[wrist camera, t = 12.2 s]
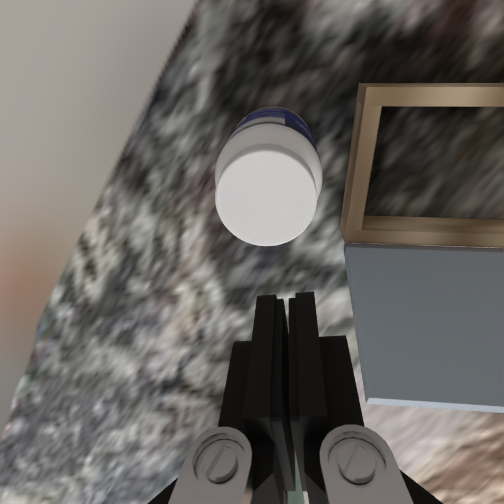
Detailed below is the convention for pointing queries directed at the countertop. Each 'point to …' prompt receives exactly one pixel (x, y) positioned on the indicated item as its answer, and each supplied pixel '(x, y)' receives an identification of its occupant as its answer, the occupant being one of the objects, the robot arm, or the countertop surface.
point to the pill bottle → (268, 177)
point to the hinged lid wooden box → (361, 159)
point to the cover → (429, 324)
